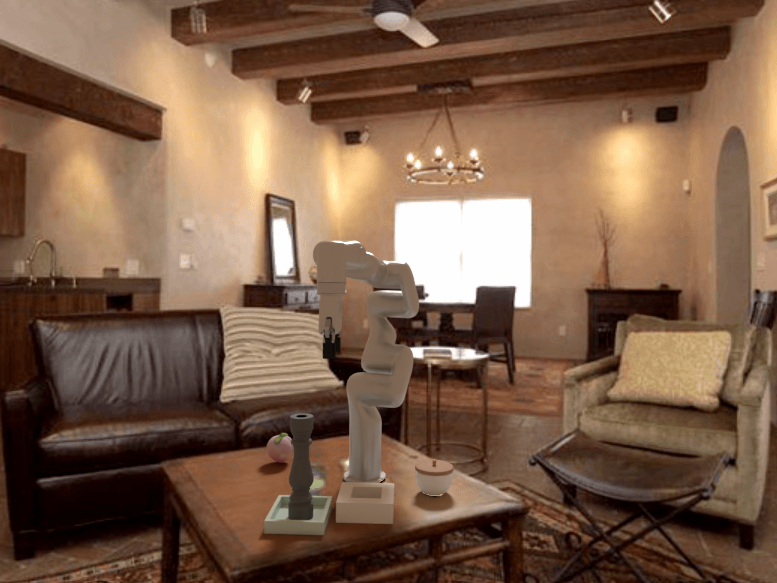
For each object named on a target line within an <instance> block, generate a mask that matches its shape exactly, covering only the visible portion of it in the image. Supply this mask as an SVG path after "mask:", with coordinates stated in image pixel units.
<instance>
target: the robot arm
mask: <svg viewBox="0 0 777 583" xmlns="http://www.w3.org/2000/svg"><path fill="white" fill-rule="evenodd" d="M312 259H313V262H314V263H315V265H316V295H317V296H320V297H319V305H318V306H319V307H318V310H319V311H318V334H319V335H322V334H323V335H322V336H323V337H322V359H323V360H336V353H340V352H341V348H342V347H341V343H342V342H341V338H342V337H341V331H342V327H343V324H342V323H343V296H346V295H347V279H353V280H356V281H357V280H358V281H360V282H363V283H364V284H366V285H368V286H370V287H372V288H375V289H390V290H374V291H372V292H370V293H369V294H368V295H367V297H366V302H365V303H366V304H365V306H366V312H367V318H368V322H369V329H370V330H369V335H368V339H367V341H366V343H365V347H364V348H363V352H362V356H361V362H360V365H361V368H362V369H363V371H362V372H355V373H353V374H352V375H350V376H349V378H348V379H347V381H346V382H347V383H346V396H347V402H348V410H349V412H348V413H349V414H348V415H349V427H348V428H349V432H348V433H349V435H348V436H349V438H348V439H349V440H348V445H349V446H348V447H349V451H348V452H349V453H348V470H347V471H345V472H344V473H343V480H344V482H364V483H378V482H379V481H380V480H384V479H385V480H386V479H387V474H386V473H385V472H384V471H383V470H382V427H383V426H382V424H383V423H382V417H381V414H380V412H379V410H378V408H377V407H381V408H392V409H393V408H398V407H401V405H402V404H403V403H404V400H405V396H406V394H407V391H408V387H409V383H410V380H411V376H412V373H413V372H412V371H413V367H414V354H413V350H412V349H411V347H409V346H407V345H405V344H399V343H398V344H397V343H396V341H397V332H396V330H395V327H394V326H393V324H392V323H391V322H390V320H388V318H398V319H400V318H401V319H411V318H414V317H416V316H417V314H418V312H419V309H420V301H419V294H418V290H417V286H416V282H415V277H414V274H413V271H412V268H411V266H410V265H409V264H408V263H407V261H404V260H403V261H401V260H382V259H381V258H379V257H377V256H376V255H374V253H372V252H368V251H367V249H366V247H365V246H364V244H363V243H361V242H359V241H357V240H323V241H319V242H318V243H316V245H315V246H314V247H313V250H312ZM391 289H394V290H391ZM395 289H396V290H395ZM397 289H398V290H397ZM399 289H400V290H399Z"/></svg>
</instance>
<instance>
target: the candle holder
mask: <svg viewBox="0 0 777 583" xmlns="http://www.w3.org/2000/svg"><path fill="white" fill-rule="evenodd" d="M289 417H290V418H289V421H290V422H289V424H290V425H289V429H290V432H291V435H292V437H293V438H291V439H292V440H291V444H292V445H293V446H294V447H293V459H292V464H291V467H290V470H289V471H290V472H289V475H288V483H289V486H290V488H291V490H292V492H291V494H290V495H291V496H290V497H289V498H290V502H289V503H288V518H289V519H290V520H310V519H312V518H313V501H312V498H313V497H312V496H313V494H312V493H311V491H310V490H311V486H312V485H313V483H314V473H313V470H312V465H311V460H310V446H311V444H312V443H313V439H312V438H311V435H312V434H313V430H314V415H313V414H311V413H304V412H303V413H301V412H300V413H295V414H294V413H293V414H291V415H290V416H289Z"/></svg>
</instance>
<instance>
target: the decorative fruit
mask: <svg viewBox="0 0 777 583" xmlns="http://www.w3.org/2000/svg"><path fill="white" fill-rule="evenodd" d="M292 439H293V438H291V437H290V436H289V434H288V433H286V432H280V433H279V434H277V435H275V436H272V437H271V438H270V439H269V440H268V442H267V444H266V453H267V455H268V457H269V458H270V459H271V460H272V461H275V462H277V463H279V464H282V463H284V462H286V461H287V460H288V459H289V458H290V457H291V455H292V453H293V452H294V446H293V445H292V444H291V440H292Z"/></svg>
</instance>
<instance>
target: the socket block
mask: <svg viewBox="0 0 777 583" xmlns="http://www.w3.org/2000/svg"><path fill="white" fill-rule="evenodd" d="M394 509H395V483H393V482H382V483H364V482H346V481H341V485H340V488H339V491H338V494H337V498H336V502H335V523H337V524H341V523H342V524H343V523H344V524H373V525H374V524H378V525H380V524H381V525H393V524H394Z"/></svg>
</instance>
